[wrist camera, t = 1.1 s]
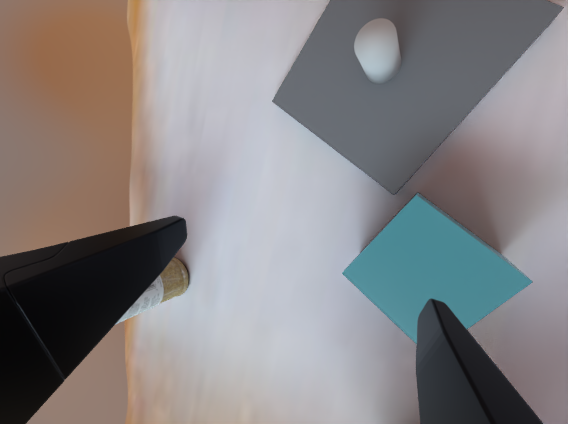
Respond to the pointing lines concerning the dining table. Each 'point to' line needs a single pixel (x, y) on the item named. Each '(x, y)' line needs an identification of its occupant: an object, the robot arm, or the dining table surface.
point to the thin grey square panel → (404, 74)
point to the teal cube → (432, 268)
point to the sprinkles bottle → (161, 289)
